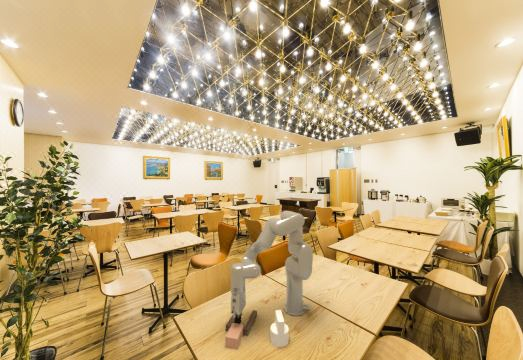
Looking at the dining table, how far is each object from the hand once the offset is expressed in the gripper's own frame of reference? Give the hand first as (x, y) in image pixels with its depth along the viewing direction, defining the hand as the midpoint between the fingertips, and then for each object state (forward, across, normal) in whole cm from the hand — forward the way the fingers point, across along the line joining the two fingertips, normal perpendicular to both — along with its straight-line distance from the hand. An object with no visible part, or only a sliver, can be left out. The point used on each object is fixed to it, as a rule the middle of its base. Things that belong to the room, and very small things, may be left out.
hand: (237, 323), depth 110 cm
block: (+4, -6, -1) cm, 8 cm away
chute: (+4, +6, 0) cm, 7 cm away
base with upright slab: (+4, 0, -22) cm, 23 cm away
